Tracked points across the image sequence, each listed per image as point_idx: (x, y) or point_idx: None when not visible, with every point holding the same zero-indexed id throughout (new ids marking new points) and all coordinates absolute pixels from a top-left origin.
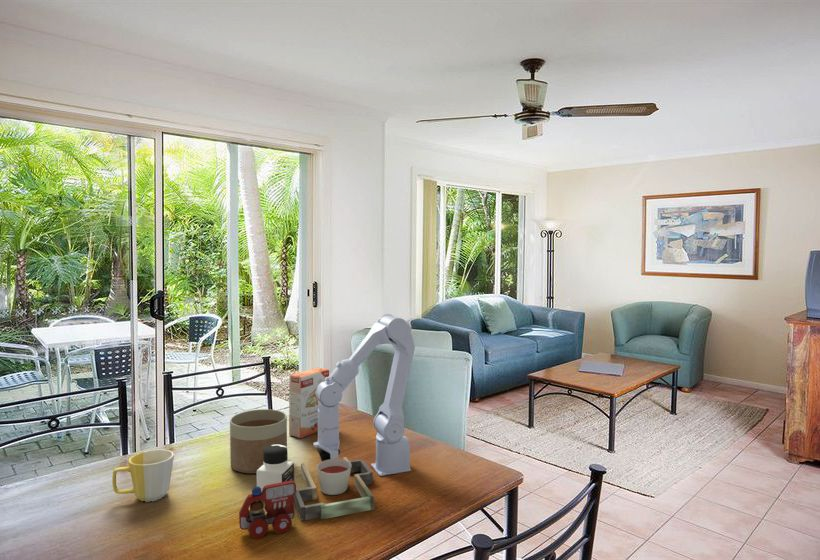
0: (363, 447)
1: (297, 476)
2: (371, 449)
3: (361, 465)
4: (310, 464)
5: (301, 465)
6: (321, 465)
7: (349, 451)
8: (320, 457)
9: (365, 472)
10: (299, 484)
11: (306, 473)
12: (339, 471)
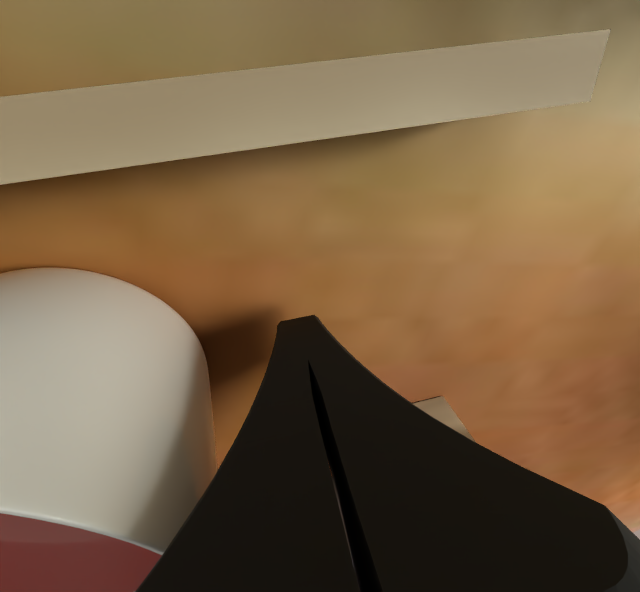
0: (602, 456)
1: (452, 7)
2: (561, 481)
3: (344, 528)
4: (619, 188)
5: (544, 36)
6: (59, 454)
7: (610, 412)
8: (411, 429)
9: None
10: (222, 5)
11: (188, 101)
12: (38, 562)
